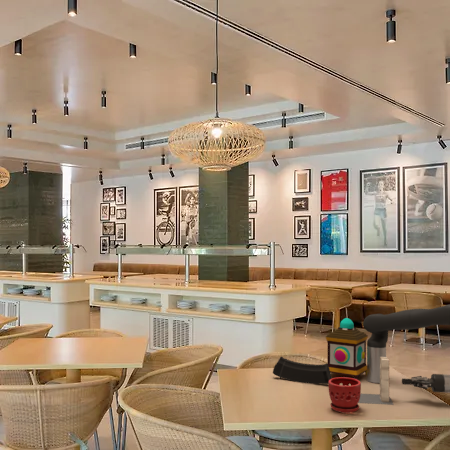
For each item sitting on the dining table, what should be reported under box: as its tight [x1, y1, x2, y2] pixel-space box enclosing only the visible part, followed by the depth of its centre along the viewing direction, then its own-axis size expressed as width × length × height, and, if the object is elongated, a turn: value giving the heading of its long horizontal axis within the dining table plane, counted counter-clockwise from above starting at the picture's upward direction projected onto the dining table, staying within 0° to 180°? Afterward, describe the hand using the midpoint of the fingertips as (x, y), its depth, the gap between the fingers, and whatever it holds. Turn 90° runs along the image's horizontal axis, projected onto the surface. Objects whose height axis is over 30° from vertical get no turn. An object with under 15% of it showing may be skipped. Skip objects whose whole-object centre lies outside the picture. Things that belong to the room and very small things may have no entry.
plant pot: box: [327, 376, 362, 414], centre depth 225 cm, size 13×13×12 cm
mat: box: [358, 393, 394, 406], centre depth 240 cm, size 15×22×1 cm
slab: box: [379, 356, 390, 402], centre depth 238 cm, size 6×3×18 cm, turn 172°
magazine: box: [272, 356, 333, 385], centre depth 269 cm, size 17×3×30 cm
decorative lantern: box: [325, 317, 369, 380], centre depth 282 cm, size 20×20×30 cm
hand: (402, 381), depth 237 cm, fingers closed
